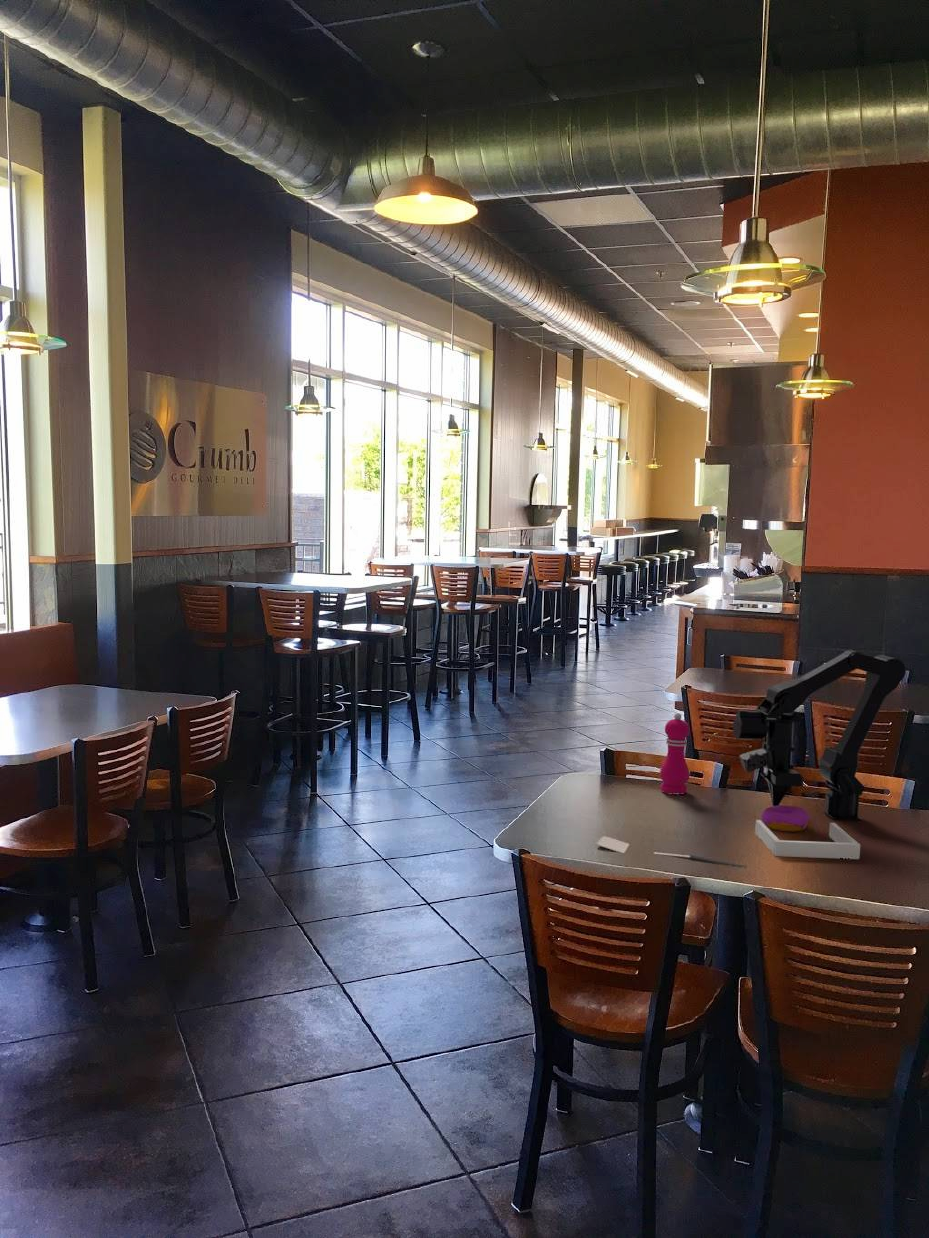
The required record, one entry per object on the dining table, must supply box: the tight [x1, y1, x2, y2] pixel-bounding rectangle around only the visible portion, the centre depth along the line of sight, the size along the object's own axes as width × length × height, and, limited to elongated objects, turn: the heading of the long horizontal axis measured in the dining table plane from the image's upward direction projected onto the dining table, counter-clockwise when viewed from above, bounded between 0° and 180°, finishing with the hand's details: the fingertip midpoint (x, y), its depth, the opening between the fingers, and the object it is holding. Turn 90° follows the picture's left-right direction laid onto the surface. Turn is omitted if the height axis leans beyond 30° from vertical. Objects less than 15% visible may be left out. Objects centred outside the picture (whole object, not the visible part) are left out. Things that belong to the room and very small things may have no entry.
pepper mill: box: [659, 712, 690, 794], centre depth 241 cm, size 7×7×20 cm
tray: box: [754, 819, 861, 860], centre depth 203 cm, size 17×14×3 cm
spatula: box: [596, 835, 747, 868], centre depth 195 cm, size 6×29×2 cm, turn 68°
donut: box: [761, 804, 811, 832], centre depth 216 cm, size 10×10×5 cm
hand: (775, 806), depth 225 cm, fingers closed
